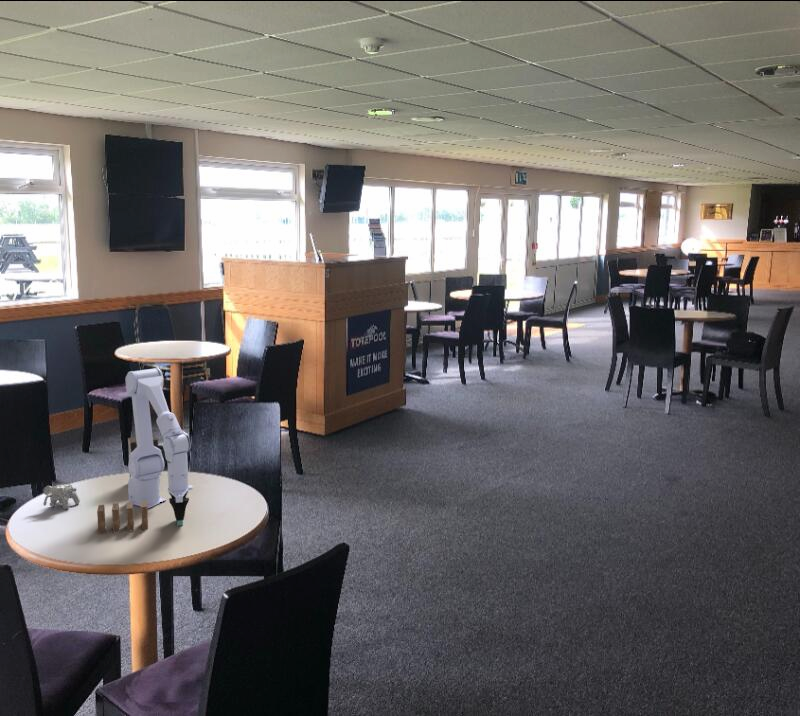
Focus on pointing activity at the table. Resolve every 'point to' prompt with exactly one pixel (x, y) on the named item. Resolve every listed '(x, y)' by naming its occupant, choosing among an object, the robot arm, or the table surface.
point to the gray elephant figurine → (61, 495)
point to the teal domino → (180, 522)
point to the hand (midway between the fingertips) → (179, 516)
